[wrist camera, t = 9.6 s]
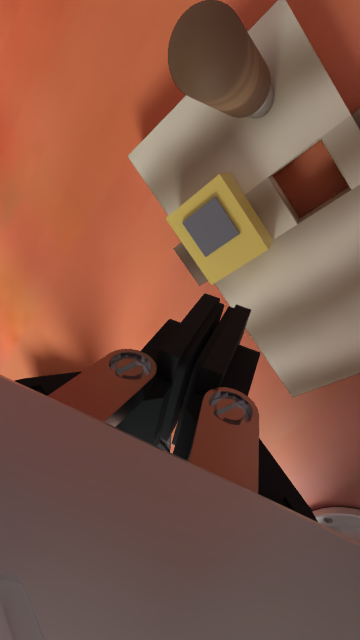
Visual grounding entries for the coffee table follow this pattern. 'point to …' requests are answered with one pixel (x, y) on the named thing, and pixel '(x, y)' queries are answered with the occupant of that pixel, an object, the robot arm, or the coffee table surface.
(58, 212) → the coffee table surface
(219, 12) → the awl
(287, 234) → the board
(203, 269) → the block
